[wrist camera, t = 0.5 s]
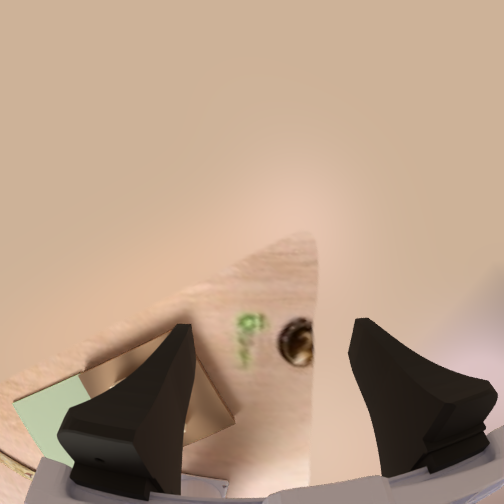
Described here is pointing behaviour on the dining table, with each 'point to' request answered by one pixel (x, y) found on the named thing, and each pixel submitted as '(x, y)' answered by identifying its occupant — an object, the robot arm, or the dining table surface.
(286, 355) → the dining table surface
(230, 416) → the board
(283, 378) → the dining table surface
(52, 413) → the mat
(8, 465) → the snack bar
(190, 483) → the robot arm
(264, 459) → the dining table surface
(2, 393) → the dining table surface
